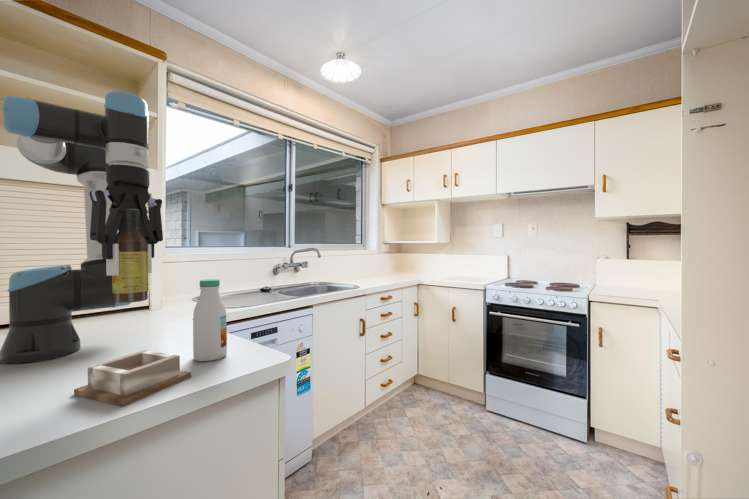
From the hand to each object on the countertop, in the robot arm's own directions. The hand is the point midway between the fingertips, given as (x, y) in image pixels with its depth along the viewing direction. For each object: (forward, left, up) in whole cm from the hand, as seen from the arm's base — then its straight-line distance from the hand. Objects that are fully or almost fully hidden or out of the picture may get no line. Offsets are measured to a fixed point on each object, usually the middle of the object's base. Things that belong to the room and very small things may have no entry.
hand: (130, 273), depth 71 cm
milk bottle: (+5, +16, -23) cm, 28 cm away
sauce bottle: (0, 0, -6) cm, 6 cm away
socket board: (+5, -2, -23) cm, 23 cm away
